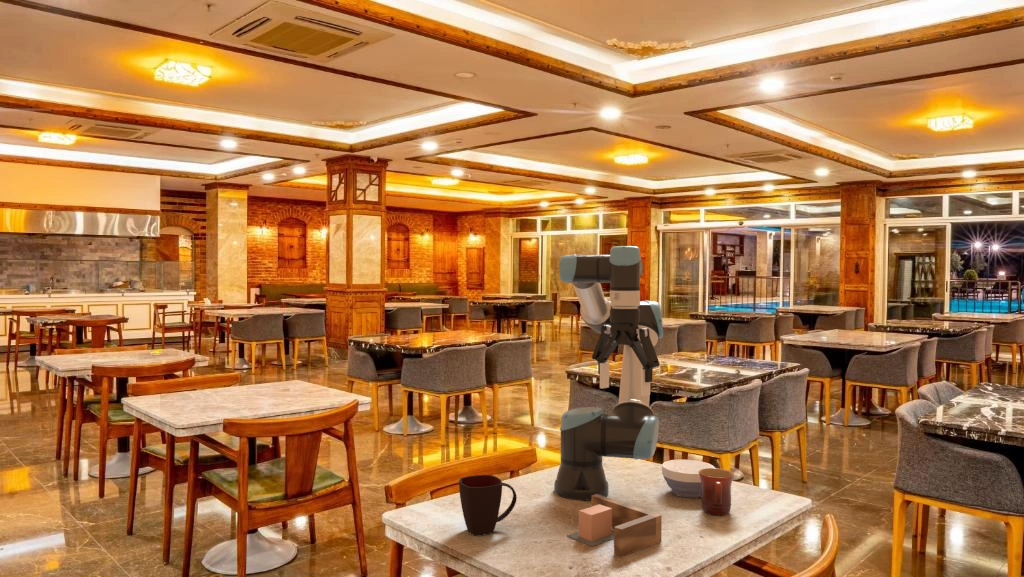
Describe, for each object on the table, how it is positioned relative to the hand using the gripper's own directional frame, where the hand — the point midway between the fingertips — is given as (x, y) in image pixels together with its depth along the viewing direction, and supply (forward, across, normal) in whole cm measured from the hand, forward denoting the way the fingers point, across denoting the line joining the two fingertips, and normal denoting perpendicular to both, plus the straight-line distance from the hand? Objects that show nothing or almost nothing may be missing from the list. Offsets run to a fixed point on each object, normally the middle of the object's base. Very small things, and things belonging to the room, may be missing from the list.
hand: (624, 391), depth 179 cm
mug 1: (+31, -14, -33) cm, 48 cm away
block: (+31, +5, -16) cm, 35 cm away
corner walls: (+31, +7, -14) cm, 35 cm away
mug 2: (+32, +15, +18) cm, 40 cm away
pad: (+31, +5, -16) cm, 35 cm away
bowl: (+32, 0, +27) cm, 42 cm away
